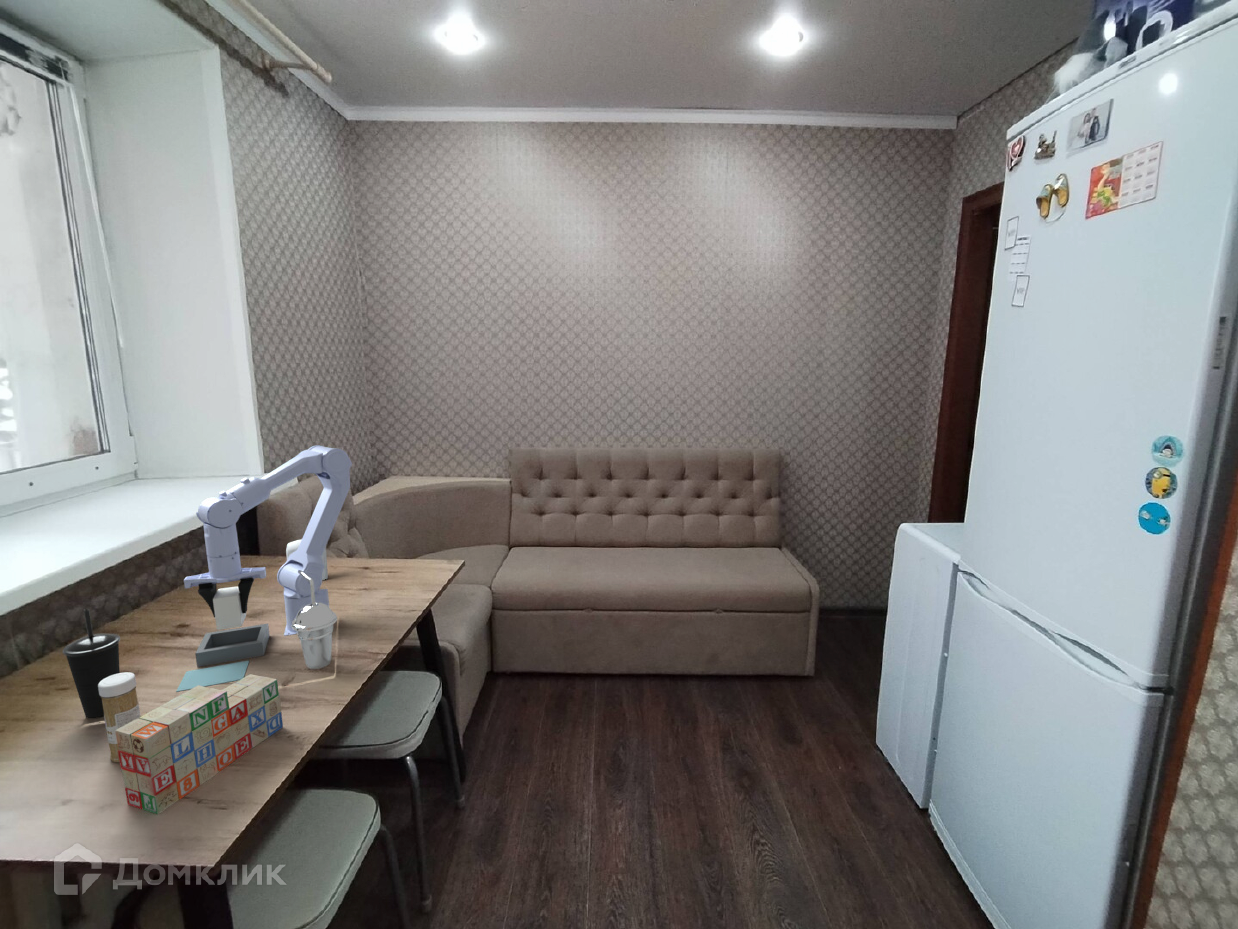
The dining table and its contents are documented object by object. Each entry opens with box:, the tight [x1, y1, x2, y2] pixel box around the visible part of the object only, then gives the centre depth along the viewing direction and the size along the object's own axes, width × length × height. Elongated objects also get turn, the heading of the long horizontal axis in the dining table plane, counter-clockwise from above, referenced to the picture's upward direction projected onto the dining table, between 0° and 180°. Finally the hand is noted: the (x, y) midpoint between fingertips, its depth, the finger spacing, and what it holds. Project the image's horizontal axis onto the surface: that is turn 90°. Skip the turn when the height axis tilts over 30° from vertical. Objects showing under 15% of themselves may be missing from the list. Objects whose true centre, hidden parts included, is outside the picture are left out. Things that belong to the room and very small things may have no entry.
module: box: [213, 585, 247, 631], centre depth 128 cm, size 4×6×7 cm
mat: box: [175, 660, 250, 693], centre depth 119 cm, size 11×8×1 cm
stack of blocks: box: [115, 673, 284, 815], centre depth 93 cm, size 21×6×12 cm, turn 162°
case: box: [195, 623, 270, 668], centre depth 129 cm, size 12×10×4 cm
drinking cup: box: [62, 608, 121, 719], centre depth 106 cm, size 8×8×20 cm
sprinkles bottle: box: [98, 671, 141, 763], centre depth 95 cm, size 5×5×14 cm
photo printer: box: [285, 538, 329, 581], centre depth 171 cm, size 10×4×12 cm, turn 110°
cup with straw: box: [292, 570, 338, 670], centre depth 123 cm, size 8×9×20 cm
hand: (230, 613), depth 128 cm, fingers closed on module, 4 cm apart
